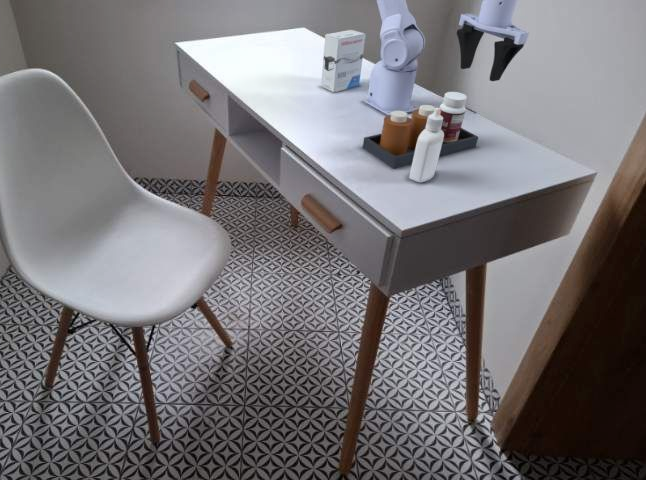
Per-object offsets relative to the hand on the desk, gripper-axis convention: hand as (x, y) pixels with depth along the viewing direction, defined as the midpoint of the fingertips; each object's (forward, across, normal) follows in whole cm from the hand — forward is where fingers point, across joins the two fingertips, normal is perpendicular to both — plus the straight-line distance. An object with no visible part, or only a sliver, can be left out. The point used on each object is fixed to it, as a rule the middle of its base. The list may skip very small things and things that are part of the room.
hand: (479, 74), depth 100 cm
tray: (+10, -4, +16) cm, 19 cm away
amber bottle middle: (+10, -4, +16) cm, 19 cm away
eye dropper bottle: (+11, -13, +23) cm, 29 cm away
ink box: (+11, +30, +11) cm, 34 cm away
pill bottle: (+10, -4, +10) cm, 14 cm away
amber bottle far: (+10, -4, +23) cm, 25 cm away
